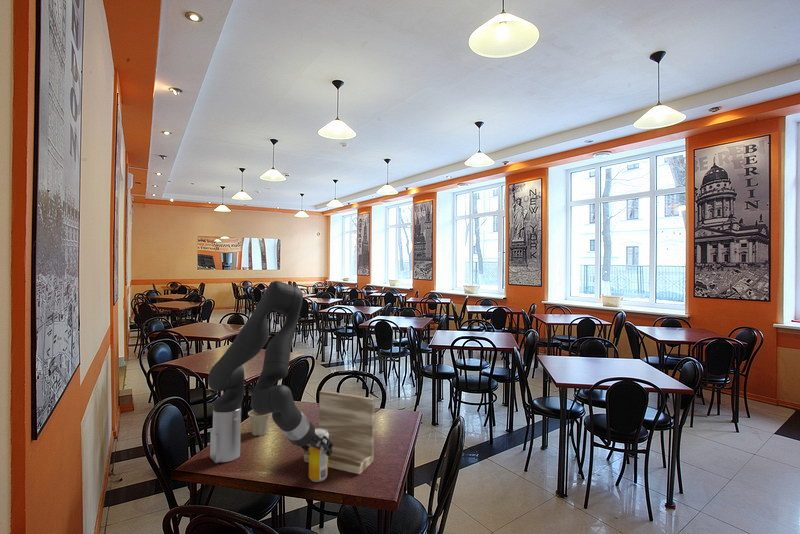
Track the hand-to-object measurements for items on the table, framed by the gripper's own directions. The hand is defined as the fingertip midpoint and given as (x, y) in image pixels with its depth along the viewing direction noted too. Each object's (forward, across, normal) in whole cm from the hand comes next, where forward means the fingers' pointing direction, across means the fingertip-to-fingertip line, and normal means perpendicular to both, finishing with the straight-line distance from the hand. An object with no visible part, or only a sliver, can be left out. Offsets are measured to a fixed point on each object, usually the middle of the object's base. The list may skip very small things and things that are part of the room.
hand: (318, 450), depth 132 cm
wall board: (+15, 0, -3) cm, 16 cm away
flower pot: (+21, +42, -8) cm, 48 cm away
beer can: (+6, 0, +6) cm, 9 cm away
